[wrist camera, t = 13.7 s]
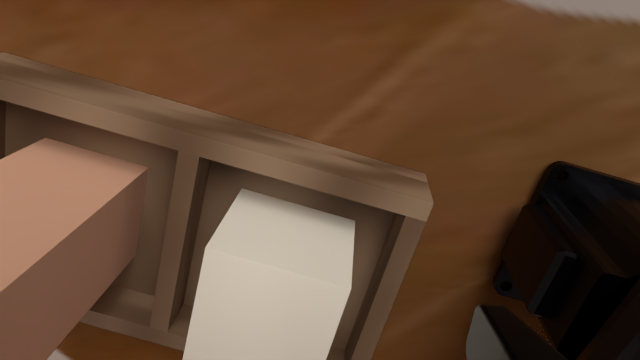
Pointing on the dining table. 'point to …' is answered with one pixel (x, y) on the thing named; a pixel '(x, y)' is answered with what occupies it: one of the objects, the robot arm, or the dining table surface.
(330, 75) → the dining table surface
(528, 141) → the dining table surface
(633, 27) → the dining table surface
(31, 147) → the terracotta peg
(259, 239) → the cream block
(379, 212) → the walnut slot tray
